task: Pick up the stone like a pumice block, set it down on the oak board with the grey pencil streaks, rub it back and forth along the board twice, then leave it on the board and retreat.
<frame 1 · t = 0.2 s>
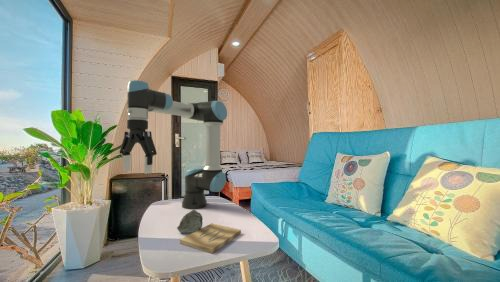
hand: (137, 172, 88), 27 cm above the table, fingers open, 13 cm apart
board: (212, 238, 91), on the table
stone: (191, 230, 99), on the table
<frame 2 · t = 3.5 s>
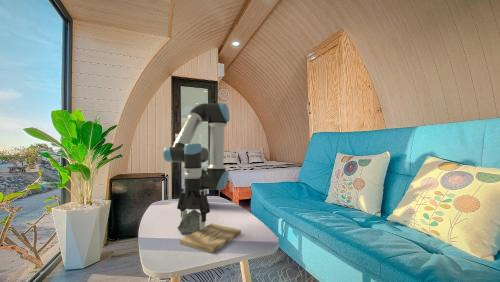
hand: (193, 226, 98), 2 cm above the table, fingers open, 10 cm apart
stone: (192, 230, 99), on the table, touching board, gripper
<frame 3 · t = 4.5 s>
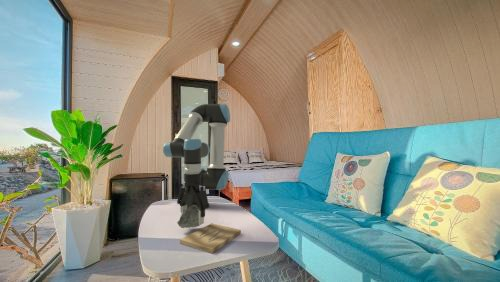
hand: (192, 221, 99), 4 cm above the table, fingers closed on stone, 10 cm apart
stone: (191, 225, 100), point 2 cm above the table, touching gripper
when the fingers open (3 cm above the table, at t = 13.8 s): stone stays where it is, resting on board.
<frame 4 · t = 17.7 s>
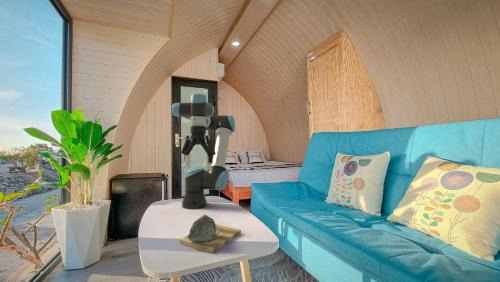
hand: (197, 168, 108), 27 cm above the table, fingers open, 13 cm apart
stone: (203, 238, 87), point 1 cm above the table, touching board
at the end: stone inside the target area (4.6 cm from its centre), point 1.3 cm above the table; stone moved 14.1 cm from its start; the gripper is holding nothing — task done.
